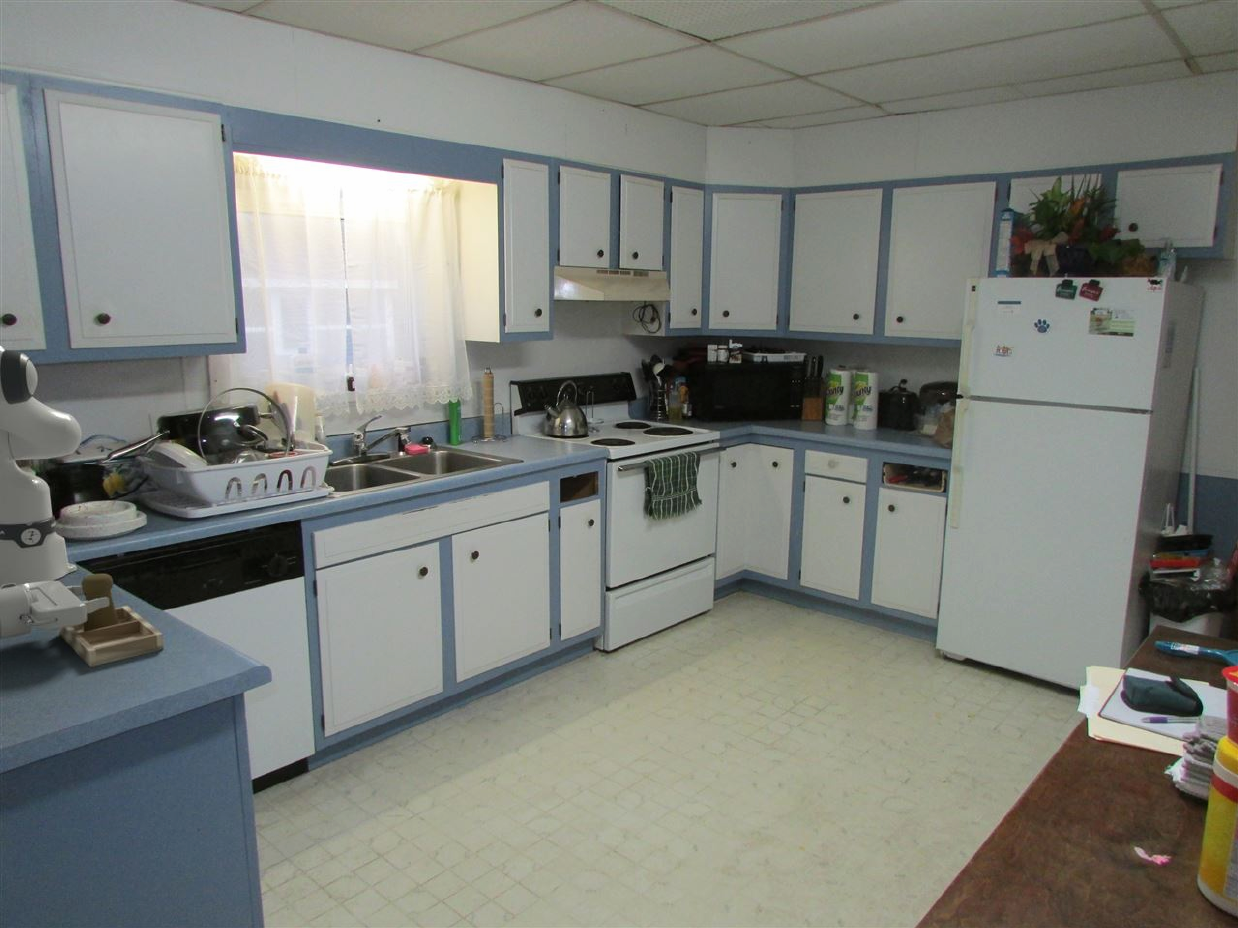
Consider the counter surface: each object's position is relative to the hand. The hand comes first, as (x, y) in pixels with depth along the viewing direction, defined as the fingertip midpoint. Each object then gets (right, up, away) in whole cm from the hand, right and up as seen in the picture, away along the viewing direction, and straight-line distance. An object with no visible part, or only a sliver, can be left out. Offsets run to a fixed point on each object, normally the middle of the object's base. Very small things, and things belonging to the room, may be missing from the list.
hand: (100, 594), depth 163 cm
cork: (-1, -7, +2) cm, 7 cm away
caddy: (+3, -9, -2) cm, 9 cm away
